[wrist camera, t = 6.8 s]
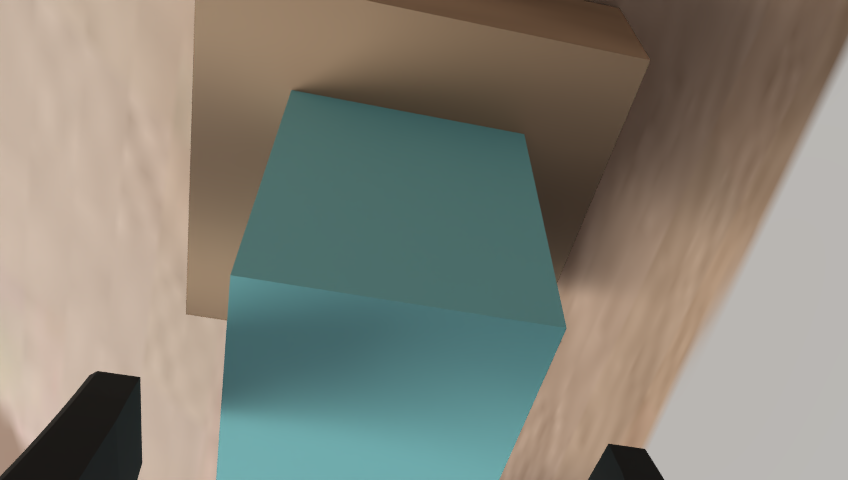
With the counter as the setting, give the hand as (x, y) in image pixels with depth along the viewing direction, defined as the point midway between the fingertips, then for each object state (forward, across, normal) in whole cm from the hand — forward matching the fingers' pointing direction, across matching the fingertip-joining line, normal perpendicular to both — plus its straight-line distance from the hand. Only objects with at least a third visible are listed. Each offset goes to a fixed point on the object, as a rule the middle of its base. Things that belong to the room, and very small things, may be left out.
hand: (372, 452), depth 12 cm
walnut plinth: (+10, 0, 0) cm, 10 cm away
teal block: (+7, 0, 0) cm, 7 cm away
